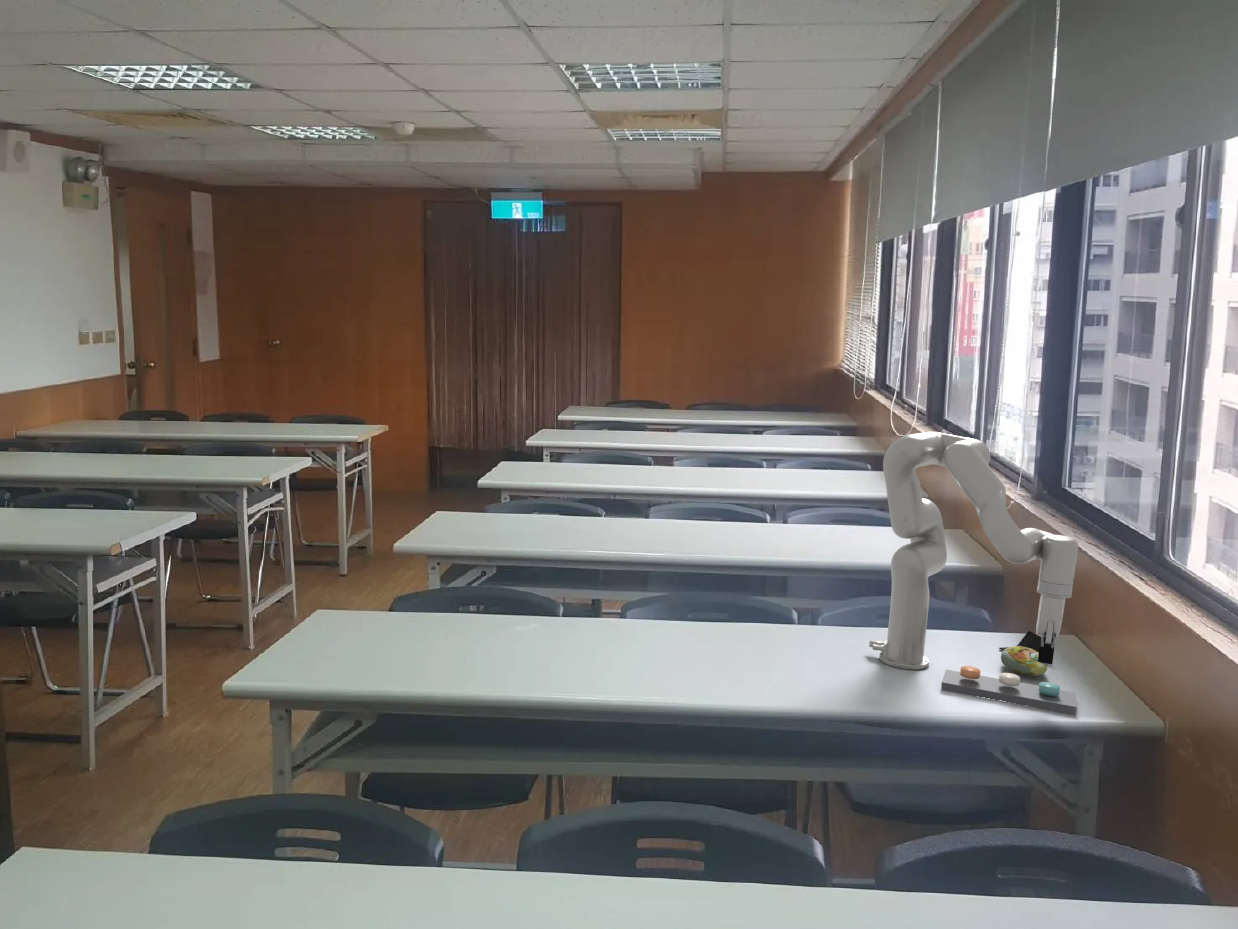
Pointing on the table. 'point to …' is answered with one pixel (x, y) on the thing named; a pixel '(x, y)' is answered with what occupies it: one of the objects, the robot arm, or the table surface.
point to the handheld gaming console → (1029, 641)
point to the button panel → (1009, 692)
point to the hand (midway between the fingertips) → (1044, 662)
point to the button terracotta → (970, 672)
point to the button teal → (1049, 688)
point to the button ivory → (1009, 679)
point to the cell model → (1023, 661)
